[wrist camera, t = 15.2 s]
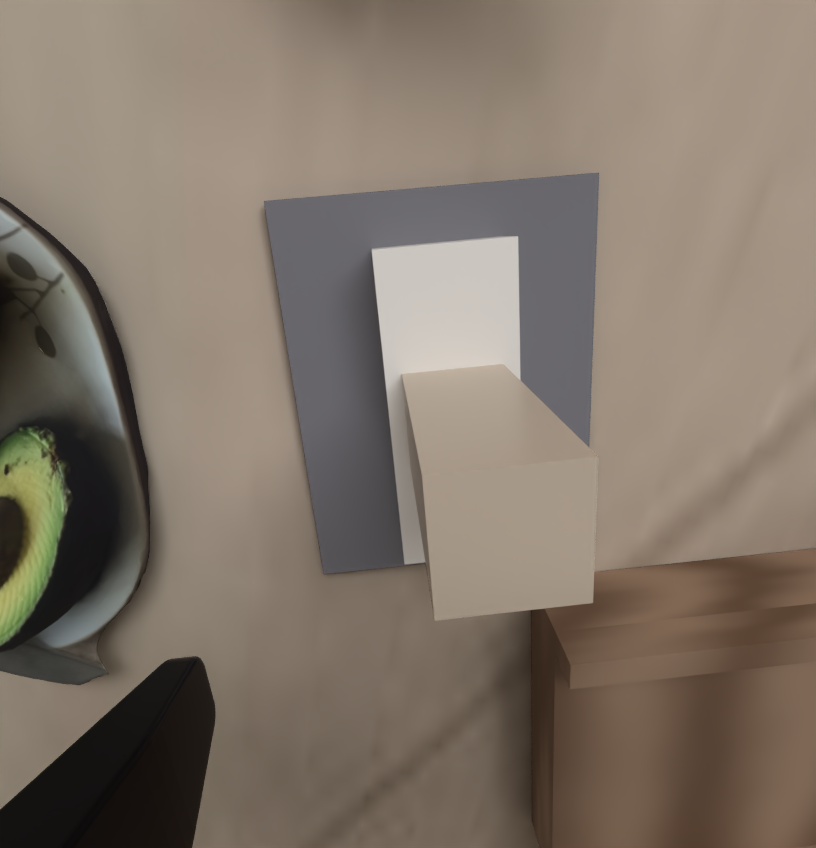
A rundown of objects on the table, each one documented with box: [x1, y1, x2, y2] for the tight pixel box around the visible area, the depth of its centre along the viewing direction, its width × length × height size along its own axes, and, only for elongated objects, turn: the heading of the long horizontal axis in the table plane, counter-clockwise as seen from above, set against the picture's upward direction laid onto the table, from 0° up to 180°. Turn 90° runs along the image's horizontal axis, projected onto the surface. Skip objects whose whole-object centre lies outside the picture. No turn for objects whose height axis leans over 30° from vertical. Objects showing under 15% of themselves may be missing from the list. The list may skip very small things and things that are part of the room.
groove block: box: [531, 549, 816, 848], centre depth 21 cm, size 13×14×4 cm
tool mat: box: [264, 173, 599, 574], centre depth 18 cm, size 10×13×1 cm
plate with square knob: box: [372, 236, 598, 621], centre depth 14 cm, size 4×10×9 cm, turn 5°
